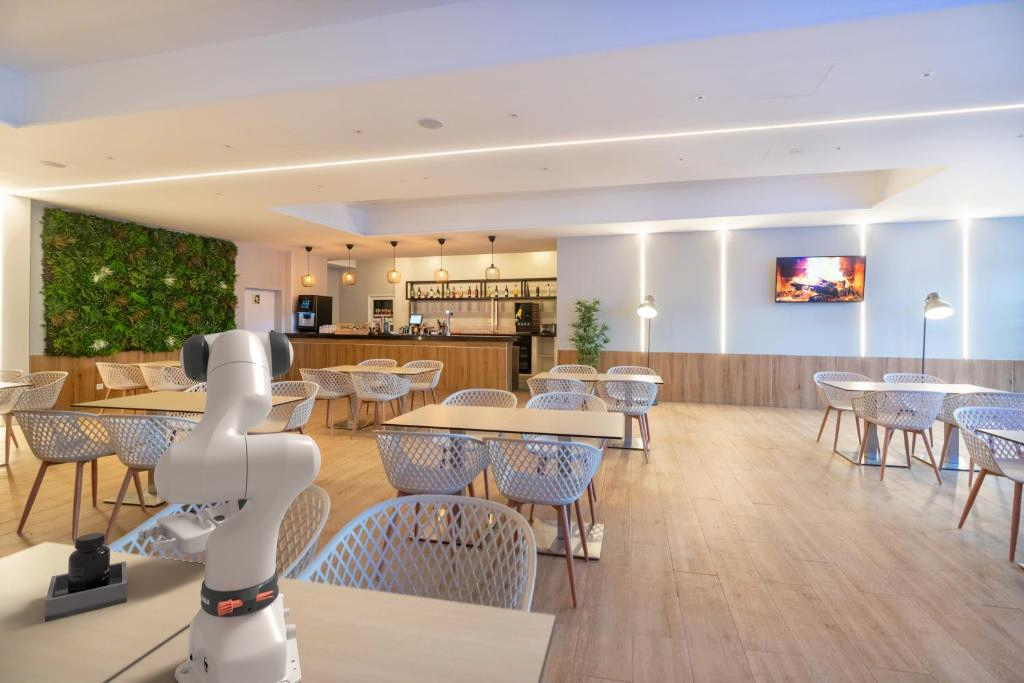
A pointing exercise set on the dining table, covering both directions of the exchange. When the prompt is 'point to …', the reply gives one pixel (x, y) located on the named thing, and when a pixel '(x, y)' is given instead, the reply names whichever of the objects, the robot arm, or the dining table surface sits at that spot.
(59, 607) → the tray
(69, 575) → the supplement bottle
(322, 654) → the dining table surface
